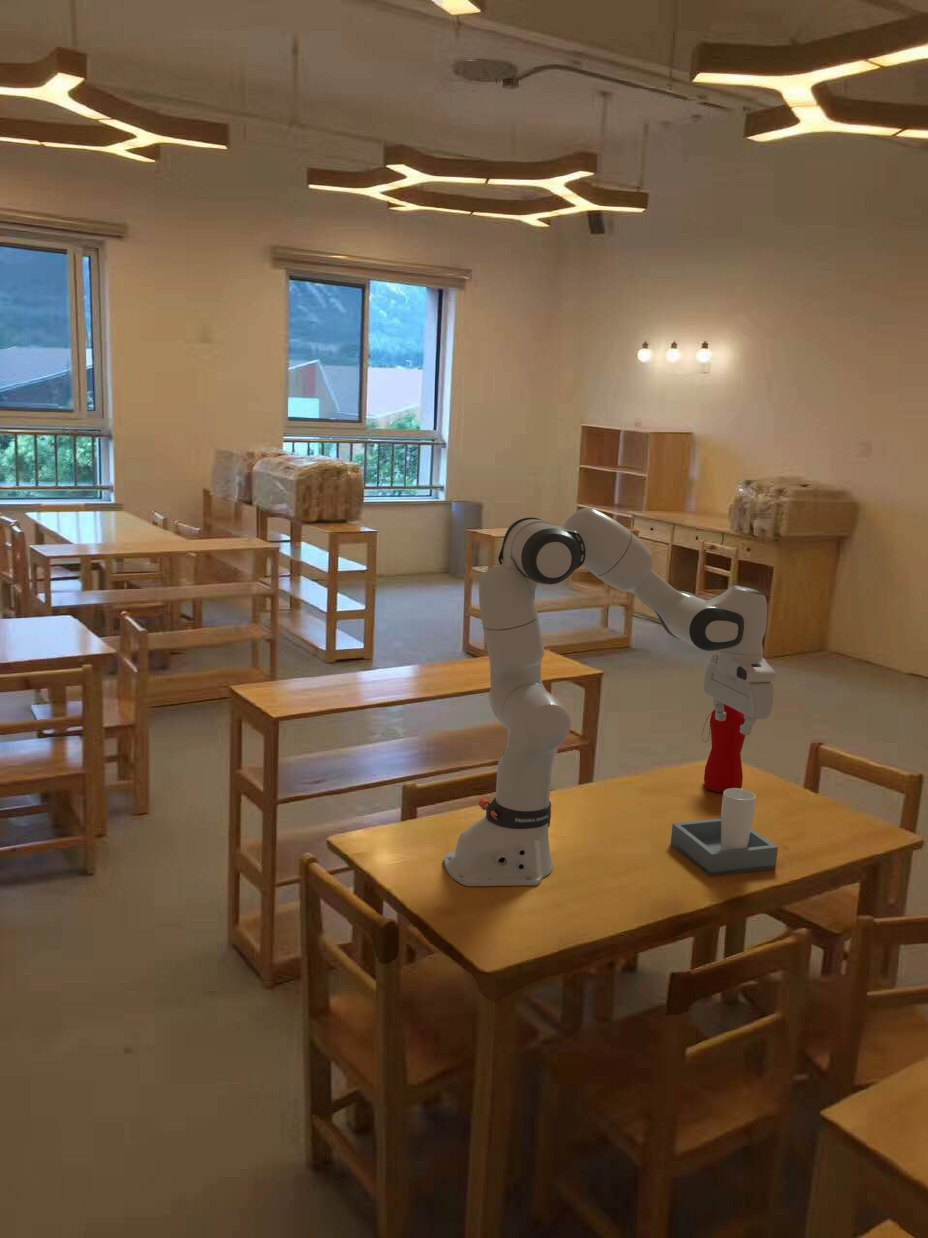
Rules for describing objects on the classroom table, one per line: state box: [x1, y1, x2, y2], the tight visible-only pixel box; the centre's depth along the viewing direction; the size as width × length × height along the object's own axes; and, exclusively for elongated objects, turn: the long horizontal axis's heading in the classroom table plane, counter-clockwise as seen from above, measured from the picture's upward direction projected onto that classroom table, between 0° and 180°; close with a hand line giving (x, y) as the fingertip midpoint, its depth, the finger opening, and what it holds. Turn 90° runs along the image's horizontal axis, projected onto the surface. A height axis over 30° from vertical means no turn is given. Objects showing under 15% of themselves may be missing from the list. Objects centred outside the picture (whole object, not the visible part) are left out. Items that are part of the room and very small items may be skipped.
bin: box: [670, 818, 779, 878], centre depth 217 cm, size 16×16×5 cm
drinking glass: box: [720, 788, 757, 851], centre depth 212 cm, size 7×7×15 cm
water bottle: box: [701, 704, 747, 794], centre depth 256 cm, size 9×11×25 cm
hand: (732, 727), depth 212 cm, fingers open, 8 cm apart
